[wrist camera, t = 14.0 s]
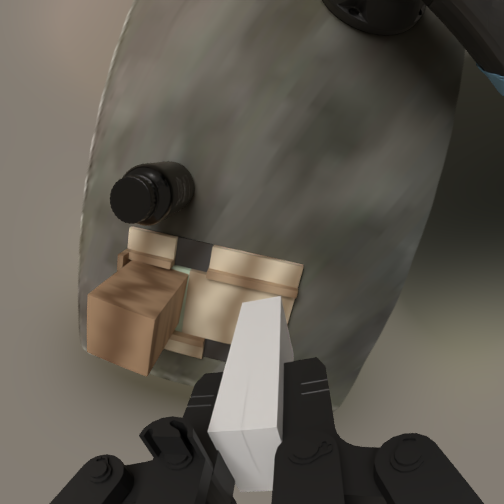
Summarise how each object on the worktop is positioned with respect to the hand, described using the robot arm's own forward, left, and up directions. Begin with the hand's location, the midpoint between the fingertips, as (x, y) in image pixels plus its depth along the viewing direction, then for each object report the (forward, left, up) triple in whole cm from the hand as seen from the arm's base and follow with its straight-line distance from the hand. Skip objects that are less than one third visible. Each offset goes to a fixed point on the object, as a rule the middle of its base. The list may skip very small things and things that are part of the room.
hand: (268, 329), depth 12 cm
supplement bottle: (+13, -6, -30) cm, 33 cm away
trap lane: (+13, +11, -29) cm, 34 cm away
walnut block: (+19, +7, -28) cm, 35 cm away
